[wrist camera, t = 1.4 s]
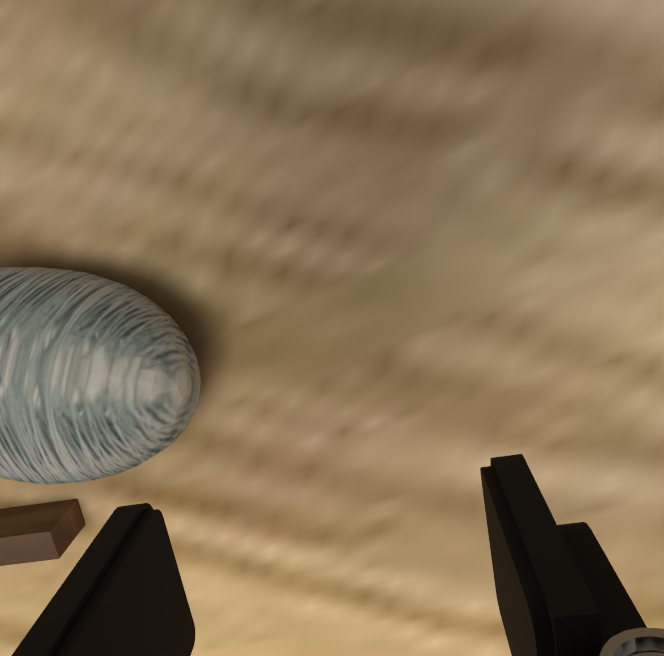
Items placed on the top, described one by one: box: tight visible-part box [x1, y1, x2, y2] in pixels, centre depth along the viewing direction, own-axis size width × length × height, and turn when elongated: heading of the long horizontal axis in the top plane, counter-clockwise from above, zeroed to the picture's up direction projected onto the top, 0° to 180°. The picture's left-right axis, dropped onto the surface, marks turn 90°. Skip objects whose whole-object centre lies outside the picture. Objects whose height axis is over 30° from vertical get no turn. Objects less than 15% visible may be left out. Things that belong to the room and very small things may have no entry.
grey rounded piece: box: [0, 267, 201, 484], centre depth 28 cm, size 14×10×10 cm
